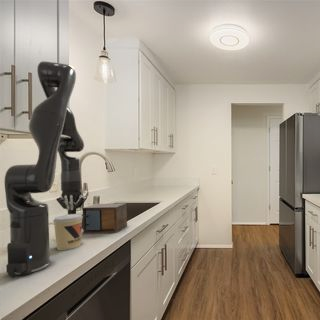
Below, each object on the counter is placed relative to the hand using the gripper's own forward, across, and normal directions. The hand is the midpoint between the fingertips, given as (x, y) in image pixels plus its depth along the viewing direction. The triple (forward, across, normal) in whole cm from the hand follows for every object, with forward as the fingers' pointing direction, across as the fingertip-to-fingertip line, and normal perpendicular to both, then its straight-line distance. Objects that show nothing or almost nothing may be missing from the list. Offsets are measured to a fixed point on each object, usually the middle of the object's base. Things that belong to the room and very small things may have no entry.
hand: (72, 217), depth 108 cm
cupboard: (+8, +11, +8) cm, 16 cm away
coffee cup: (+8, +9, -14) cm, 18 cm away
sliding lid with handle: (+7, +7, +2) cm, 10 cm away
